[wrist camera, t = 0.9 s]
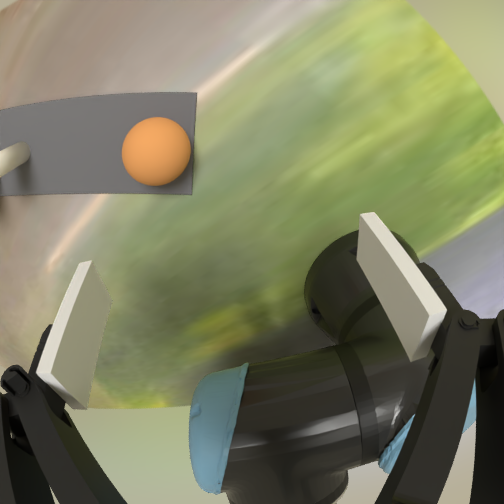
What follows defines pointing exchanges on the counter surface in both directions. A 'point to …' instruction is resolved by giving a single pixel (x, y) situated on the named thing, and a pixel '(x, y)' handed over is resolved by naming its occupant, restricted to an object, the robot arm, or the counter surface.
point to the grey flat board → (89, 143)
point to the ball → (156, 151)
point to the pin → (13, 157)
